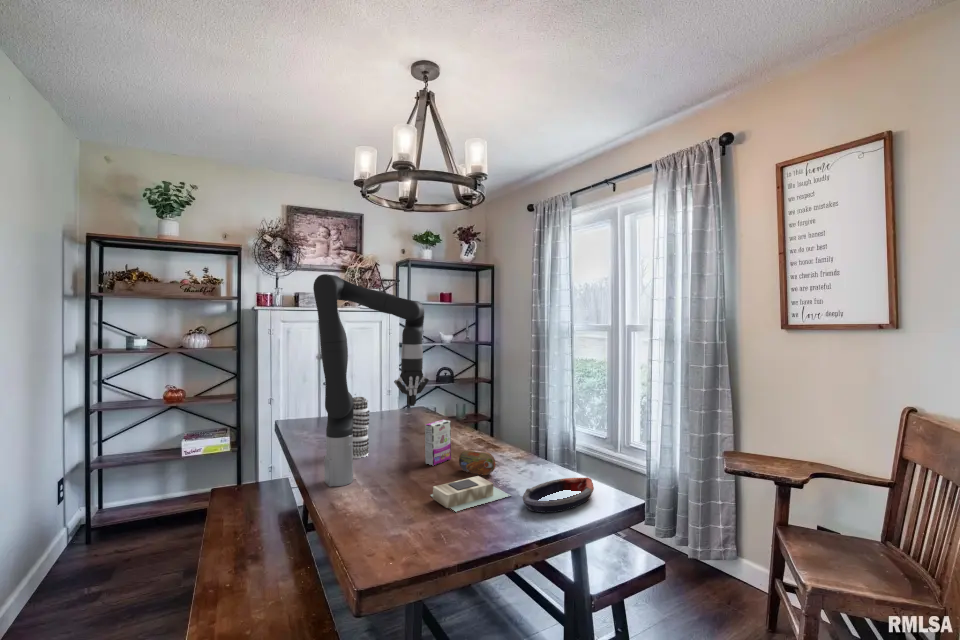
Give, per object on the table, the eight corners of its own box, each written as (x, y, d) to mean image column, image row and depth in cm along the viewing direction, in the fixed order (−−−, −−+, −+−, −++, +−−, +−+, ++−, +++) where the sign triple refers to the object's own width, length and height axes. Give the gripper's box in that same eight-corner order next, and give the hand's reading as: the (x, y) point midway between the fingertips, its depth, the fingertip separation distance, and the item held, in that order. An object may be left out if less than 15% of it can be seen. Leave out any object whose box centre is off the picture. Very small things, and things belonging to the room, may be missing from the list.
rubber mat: (455, 512, 141) (455, 511, 141) (430, 495, 154) (430, 494, 154) (511, 496, 154) (511, 495, 154) (483, 482, 167) (483, 481, 167)
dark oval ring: (509, 505, 147) (509, 489, 147) (575, 484, 165) (575, 470, 165) (543, 523, 135) (543, 506, 135) (610, 498, 153) (610, 483, 153)
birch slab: (447, 494, 143) (493, 482, 154) (433, 485, 151) (478, 474, 161) (447, 508, 143) (493, 495, 154) (433, 498, 151) (478, 487, 161)
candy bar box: (442, 457, 196) (442, 419, 196) (451, 459, 193) (451, 420, 193) (424, 464, 187) (424, 424, 187) (433, 466, 184) (433, 425, 184)
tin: (458, 470, 179) (458, 449, 179) (462, 468, 182) (462, 447, 182) (492, 477, 172) (492, 454, 172) (496, 474, 175) (496, 452, 175)
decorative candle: (366, 458, 194) (366, 399, 194) (344, 458, 194) (344, 399, 194) (372, 452, 203) (371, 395, 203) (351, 452, 203) (351, 395, 203)
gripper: (424, 355, 169) (423, 402, 170) (390, 356, 162) (389, 405, 162) (433, 357, 163) (432, 405, 163) (399, 358, 156) (398, 409, 156)
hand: (411, 405), depth 163 cm, fingers closed
